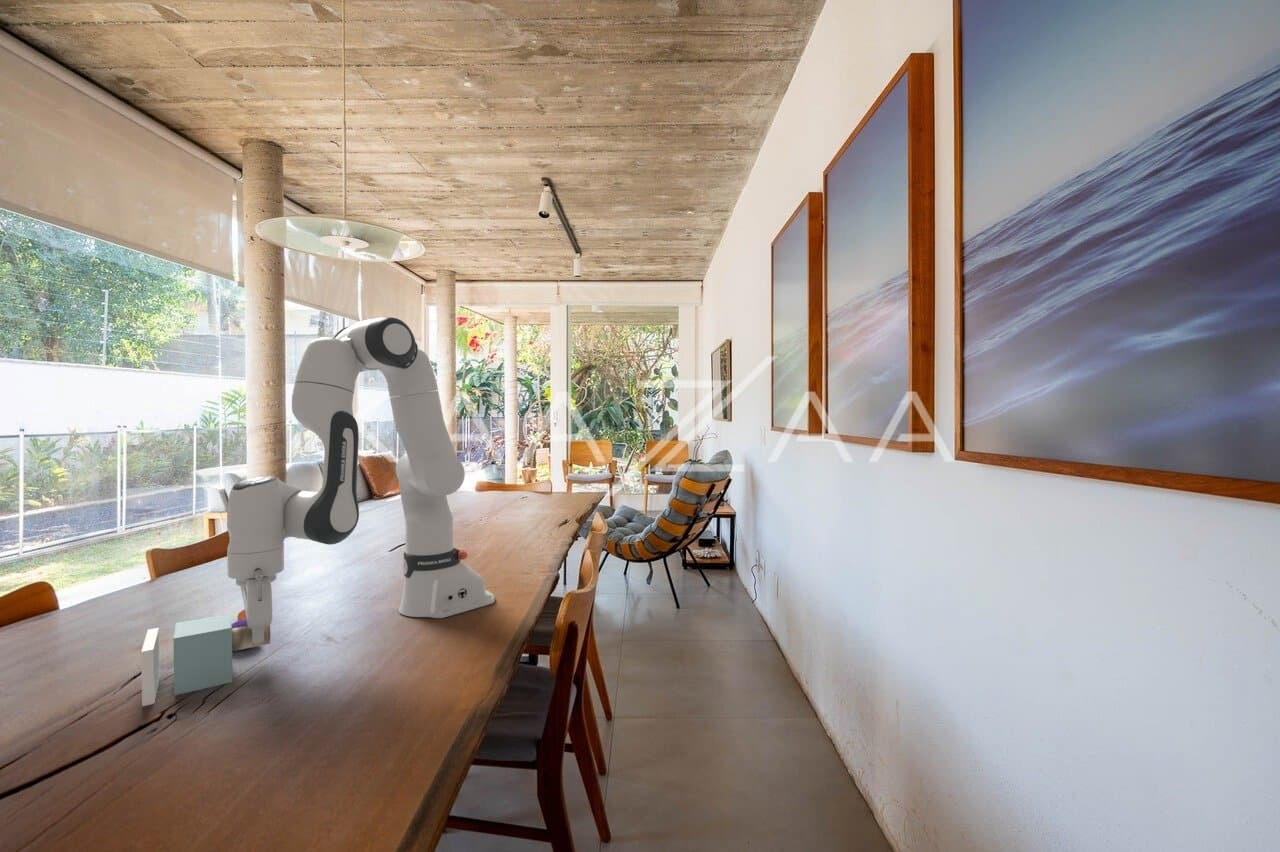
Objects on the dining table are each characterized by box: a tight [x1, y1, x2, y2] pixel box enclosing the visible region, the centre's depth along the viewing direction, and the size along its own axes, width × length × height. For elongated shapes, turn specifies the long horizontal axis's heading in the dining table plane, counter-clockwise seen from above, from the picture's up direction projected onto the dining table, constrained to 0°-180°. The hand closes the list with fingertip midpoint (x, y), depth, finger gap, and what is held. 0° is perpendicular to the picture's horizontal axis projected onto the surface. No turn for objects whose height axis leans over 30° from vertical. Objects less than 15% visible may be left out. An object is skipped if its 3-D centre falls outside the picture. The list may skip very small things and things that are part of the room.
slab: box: [140, 627, 161, 707], centre depth 98 cm, size 2×12×9 cm, turn 37°
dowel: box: [232, 624, 271, 652], centre depth 105 cm, size 10×4×4 cm, turn 127°
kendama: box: [231, 609, 249, 651], centre depth 122 cm, size 6×6×20 cm
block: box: [172, 613, 233, 696], centre depth 102 cm, size 8×9×10 cm
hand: (257, 636), depth 107 cm, fingers closed on dowel, 4 cm apart
